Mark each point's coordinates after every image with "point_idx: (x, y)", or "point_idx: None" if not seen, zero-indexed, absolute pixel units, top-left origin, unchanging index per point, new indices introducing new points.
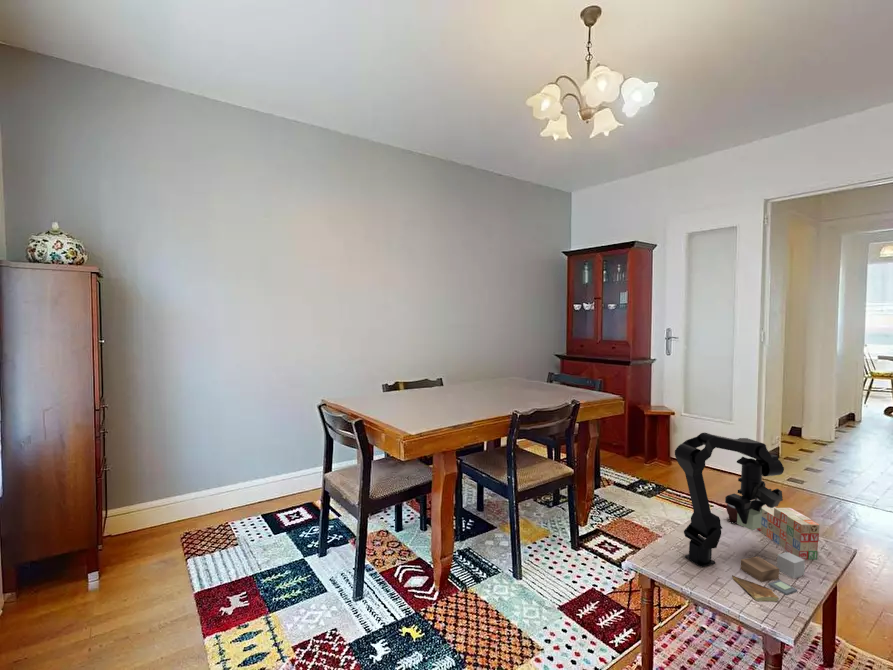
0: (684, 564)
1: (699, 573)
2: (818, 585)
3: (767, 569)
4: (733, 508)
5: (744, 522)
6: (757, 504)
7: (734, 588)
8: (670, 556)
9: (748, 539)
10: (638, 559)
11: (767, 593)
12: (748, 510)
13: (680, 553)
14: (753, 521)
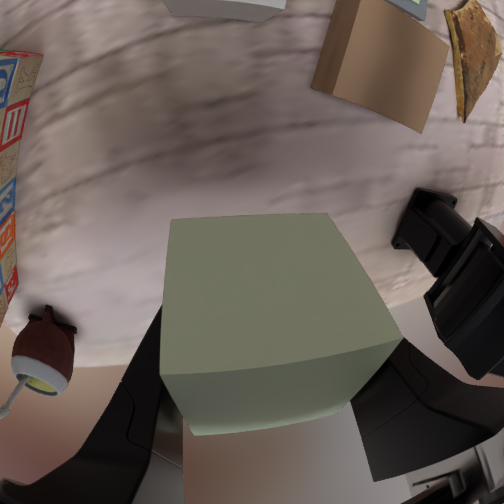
0: None
1: (476, 184)
2: None
3: (417, 29)
4: (61, 371)
5: None
6: (160, 488)
7: (488, 99)
8: None
9: (99, 245)
10: None
11: (482, 24)
12: (462, 394)
13: (415, 261)
14: (359, 276)
